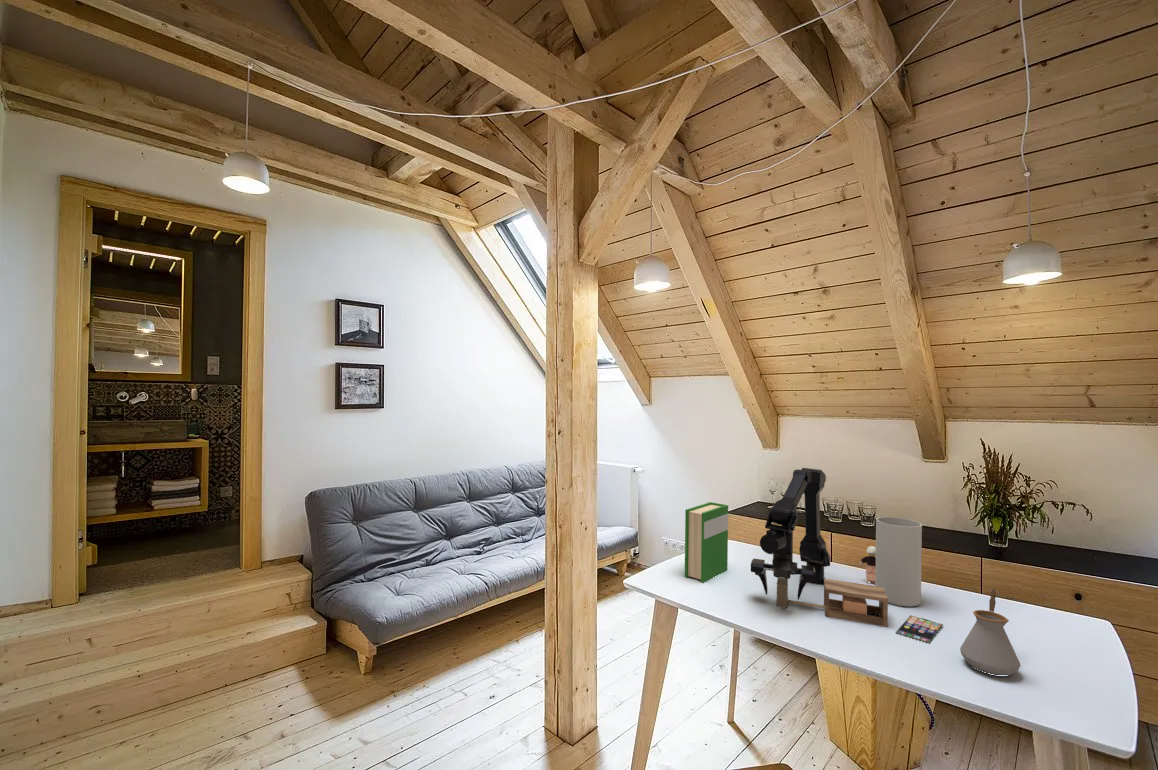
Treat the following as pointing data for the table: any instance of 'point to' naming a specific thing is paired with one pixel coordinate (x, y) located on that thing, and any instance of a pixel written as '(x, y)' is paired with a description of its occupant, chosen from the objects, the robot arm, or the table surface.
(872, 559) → the grandmother figurine
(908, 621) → the smartphone
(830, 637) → the table surface
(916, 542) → the cylinder vase
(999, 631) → the coffee pot
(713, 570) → the hardback book
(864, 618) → the shelf lane
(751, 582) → the table surface
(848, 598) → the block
